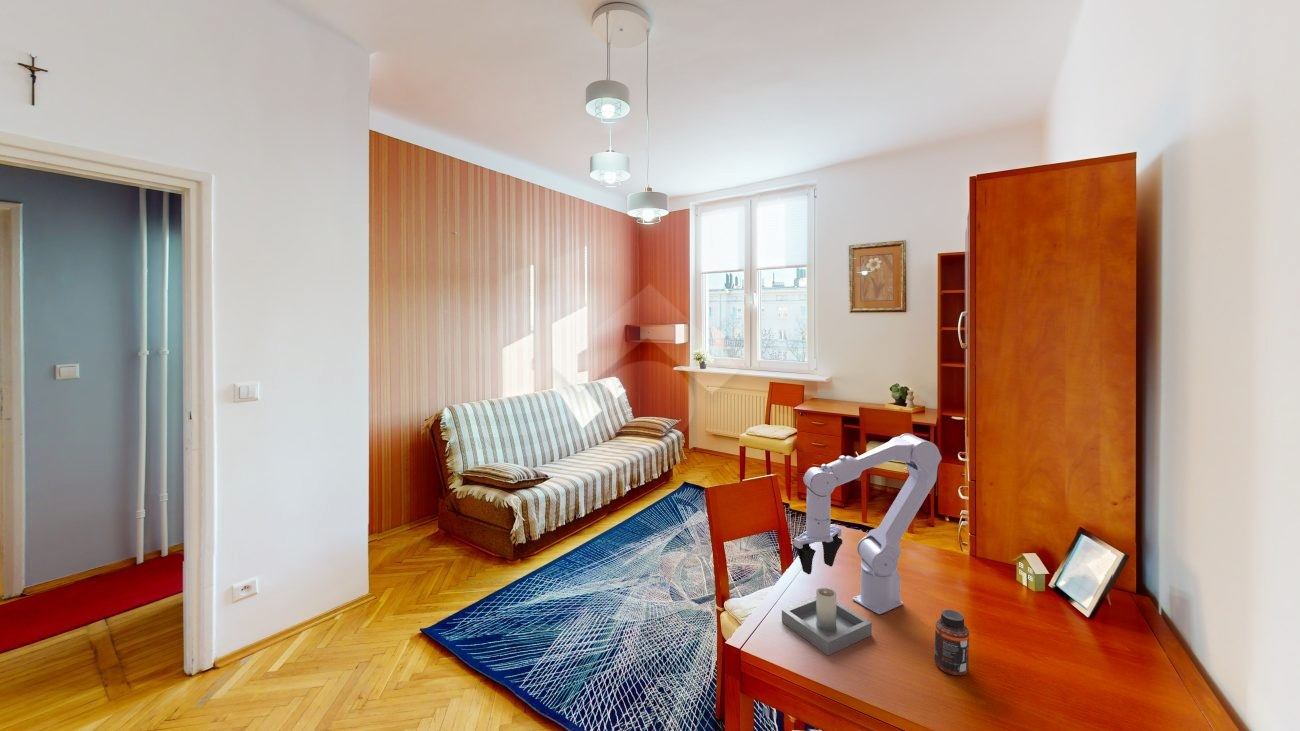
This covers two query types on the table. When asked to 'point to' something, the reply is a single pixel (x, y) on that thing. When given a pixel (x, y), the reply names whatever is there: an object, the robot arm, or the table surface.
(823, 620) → the cup
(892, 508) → the robot arm
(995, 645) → the table surface
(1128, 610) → the table surface
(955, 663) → the supplement bottle
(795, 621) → the tray
